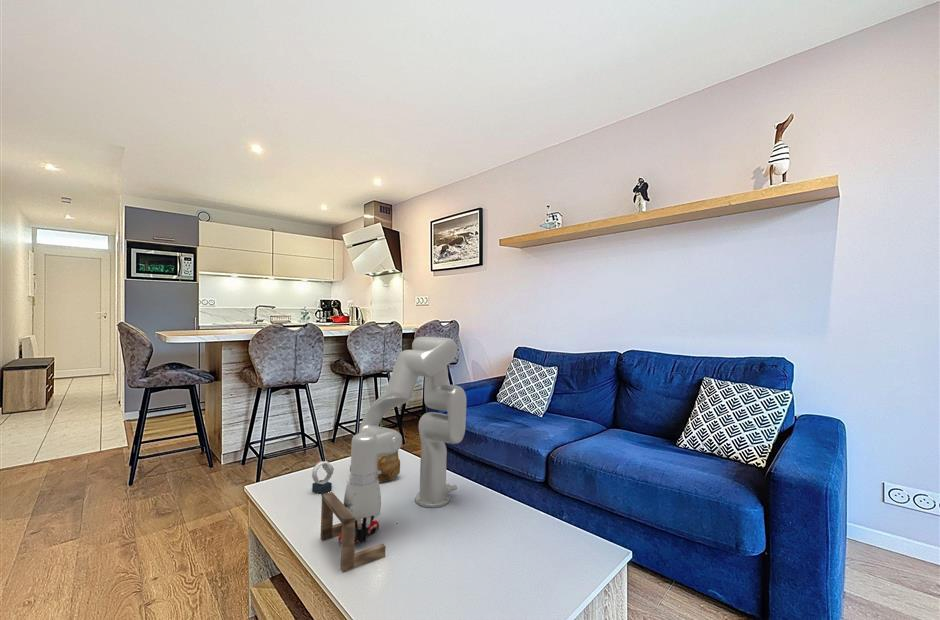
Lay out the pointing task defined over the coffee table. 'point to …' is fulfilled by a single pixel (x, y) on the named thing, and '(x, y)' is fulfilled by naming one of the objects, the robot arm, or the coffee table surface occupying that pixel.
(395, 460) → the rough brown rock
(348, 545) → the walnut tunnel
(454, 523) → the coffee table surface
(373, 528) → the race car
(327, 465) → the watch
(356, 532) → the robot arm
